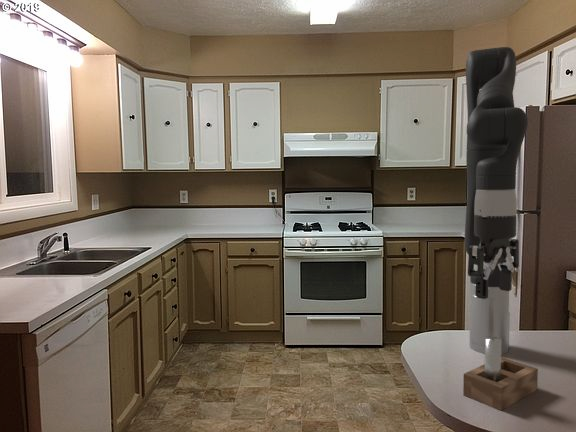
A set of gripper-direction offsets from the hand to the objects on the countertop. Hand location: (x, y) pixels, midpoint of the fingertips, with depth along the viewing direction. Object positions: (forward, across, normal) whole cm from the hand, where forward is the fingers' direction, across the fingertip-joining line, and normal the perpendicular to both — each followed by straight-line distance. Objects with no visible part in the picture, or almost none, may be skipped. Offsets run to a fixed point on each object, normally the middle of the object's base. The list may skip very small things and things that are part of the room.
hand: (493, 294), depth 90 cm
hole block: (+21, -3, 0) cm, 21 cm away
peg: (+21, 0, 0) cm, 21 cm away
